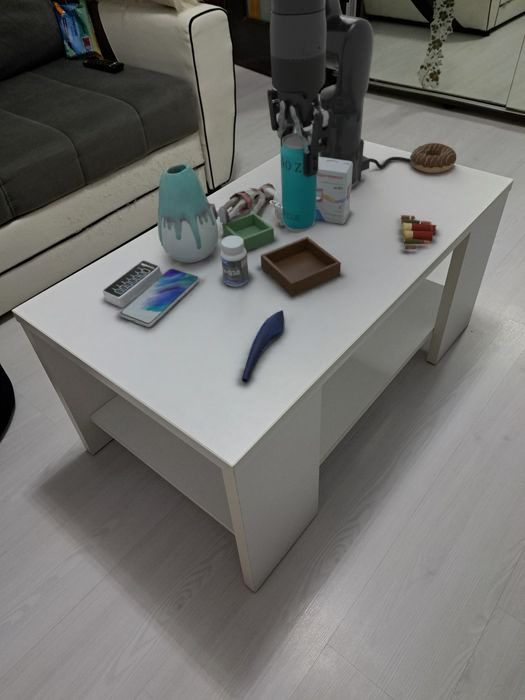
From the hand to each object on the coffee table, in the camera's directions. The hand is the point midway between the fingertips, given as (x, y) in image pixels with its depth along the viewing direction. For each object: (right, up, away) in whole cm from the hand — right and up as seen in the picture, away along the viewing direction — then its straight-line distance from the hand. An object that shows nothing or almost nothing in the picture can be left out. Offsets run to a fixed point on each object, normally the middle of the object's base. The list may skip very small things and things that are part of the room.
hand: (298, 167), depth 79 cm
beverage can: (+1, -7, +8) cm, 11 cm away
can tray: (+1, -14, +14) cm, 21 cm away
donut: (+35, +15, +41) cm, 56 cm away
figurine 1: (-9, +1, +30) cm, 31 cm away
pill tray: (-9, -6, +23) cm, 26 cm away
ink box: (+8, 0, +28) cm, 29 cm away
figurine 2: (0, -3, +27) cm, 27 cm away
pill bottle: (-11, -16, +14) cm, 24 cm away
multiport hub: (-30, -18, +14) cm, 37 cm away
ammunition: (+22, -5, +20) cm, 30 cm away
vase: (-20, -10, +21) cm, 31 cm away
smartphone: (-24, -20, +11) cm, 33 cm away
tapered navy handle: (-6, -29, +1) cm, 29 cm away
